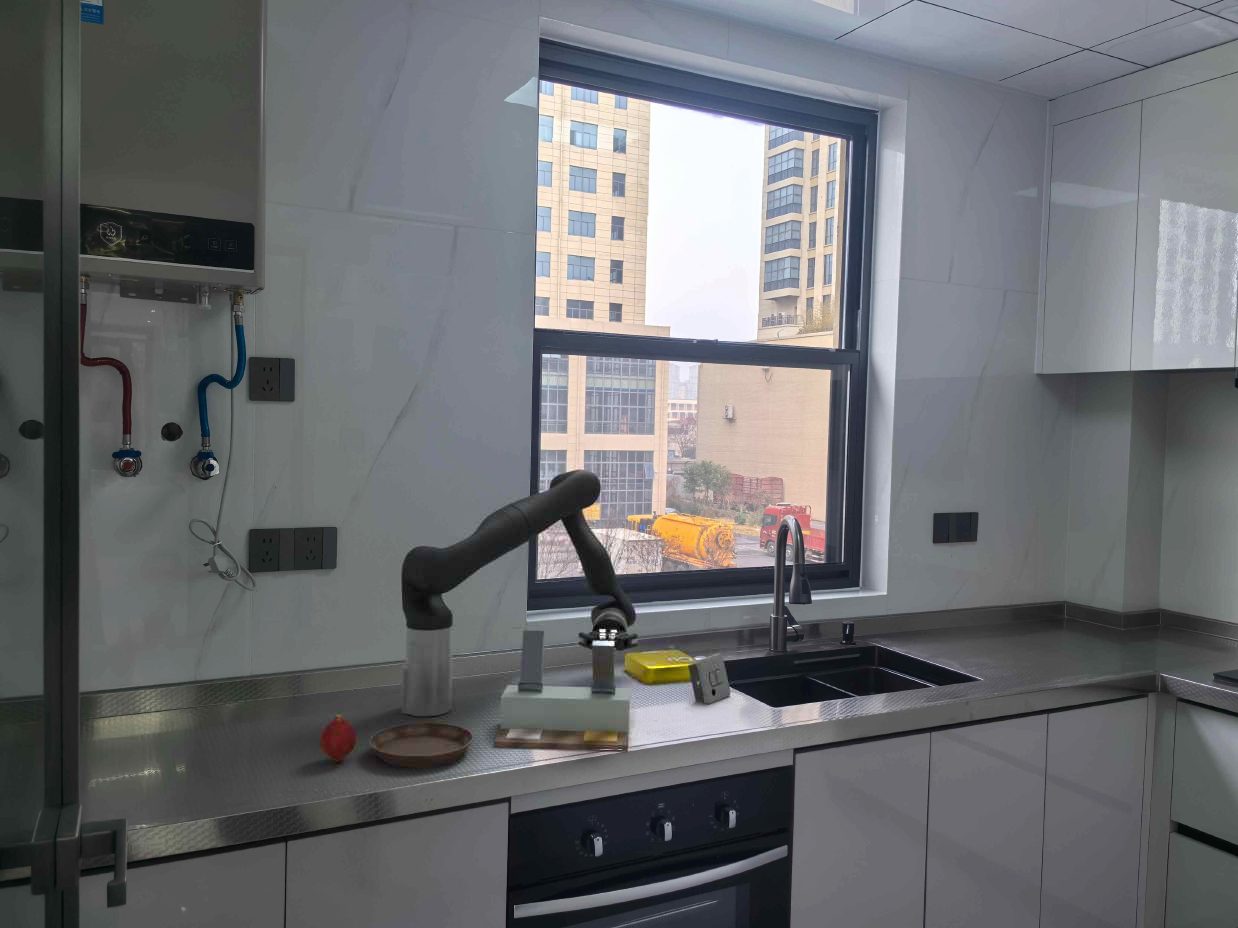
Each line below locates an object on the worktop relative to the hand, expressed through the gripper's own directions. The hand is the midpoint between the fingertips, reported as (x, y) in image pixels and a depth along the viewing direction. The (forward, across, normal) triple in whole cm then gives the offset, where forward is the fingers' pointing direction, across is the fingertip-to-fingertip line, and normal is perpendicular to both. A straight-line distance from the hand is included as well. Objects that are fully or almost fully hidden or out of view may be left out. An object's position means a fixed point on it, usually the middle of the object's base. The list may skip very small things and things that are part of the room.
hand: (605, 649), depth 169 cm
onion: (+26, -44, +14) cm, 53 cm away
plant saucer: (+21, -31, +14) cm, 40 cm away
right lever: (+6, 0, +6) cm, 9 cm away
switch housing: (+6, -7, +13) cm, 16 cm away
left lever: (+6, -14, +6) cm, 17 cm away
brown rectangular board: (+8, -7, +14) cm, 18 cm away
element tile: (-36, +12, +15) cm, 41 cm away
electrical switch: (-17, +22, +14) cm, 31 cm away
